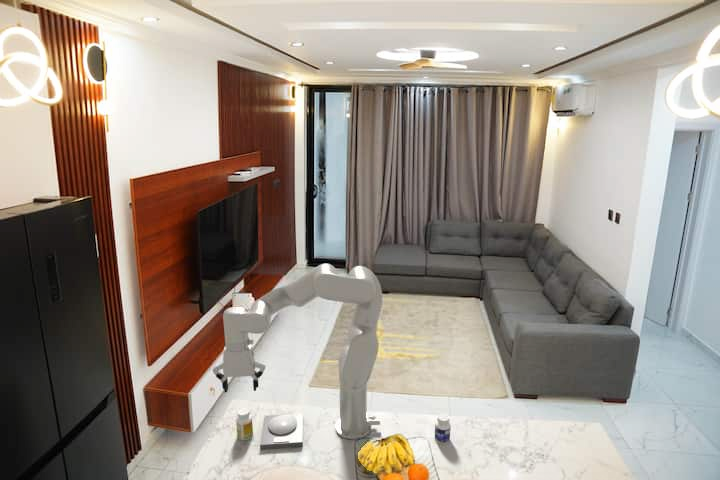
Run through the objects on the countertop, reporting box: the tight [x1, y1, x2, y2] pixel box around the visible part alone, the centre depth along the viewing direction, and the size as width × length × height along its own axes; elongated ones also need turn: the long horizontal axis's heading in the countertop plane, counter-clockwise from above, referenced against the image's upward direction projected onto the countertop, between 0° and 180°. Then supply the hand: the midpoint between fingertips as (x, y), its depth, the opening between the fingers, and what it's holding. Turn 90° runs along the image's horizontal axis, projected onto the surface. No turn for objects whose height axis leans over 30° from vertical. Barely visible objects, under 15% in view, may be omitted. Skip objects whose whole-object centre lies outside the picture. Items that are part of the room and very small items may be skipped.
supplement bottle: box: [235, 407, 254, 441], centre depth 171 cm, size 5×5×10 cm
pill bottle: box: [434, 413, 452, 445], centre depth 169 cm, size 5×5×9 cm
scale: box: [259, 412, 304, 451], centre depth 173 cm, size 14×16×3 cm
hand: (240, 389), depth 167 cm, fingers open, 9 cm apart
